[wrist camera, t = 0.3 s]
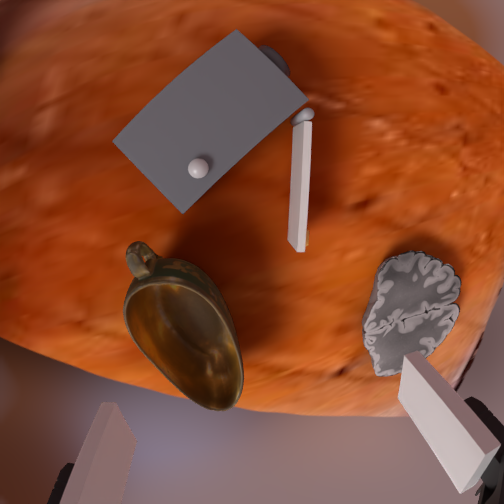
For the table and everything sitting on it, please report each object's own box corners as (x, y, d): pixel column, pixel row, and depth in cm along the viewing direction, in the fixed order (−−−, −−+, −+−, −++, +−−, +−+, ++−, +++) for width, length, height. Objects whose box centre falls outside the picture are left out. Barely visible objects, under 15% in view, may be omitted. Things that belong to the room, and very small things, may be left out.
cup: (251, 232, 37) (260, 256, 27) (238, 373, 42) (242, 423, 32) (142, 225, 35) (113, 246, 26) (148, 365, 40) (131, 413, 31)
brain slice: (444, 343, 44) (453, 351, 41) (357, 374, 44) (364, 385, 41) (451, 232, 39) (464, 236, 36) (351, 255, 39) (360, 262, 36)
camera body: (133, 145, 33) (109, 140, 25) (244, 45, 30) (248, 18, 23) (191, 205, 35) (181, 215, 28) (303, 104, 33) (322, 89, 26)
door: (284, 238, 37) (295, 251, 31) (290, 116, 33) (302, 107, 27) (299, 239, 37) (312, 252, 31) (305, 117, 33) (320, 109, 28)
